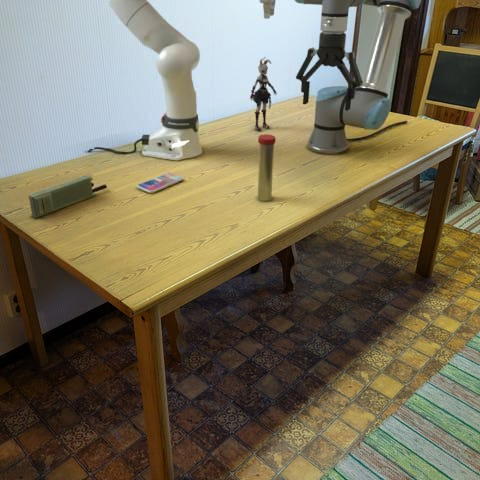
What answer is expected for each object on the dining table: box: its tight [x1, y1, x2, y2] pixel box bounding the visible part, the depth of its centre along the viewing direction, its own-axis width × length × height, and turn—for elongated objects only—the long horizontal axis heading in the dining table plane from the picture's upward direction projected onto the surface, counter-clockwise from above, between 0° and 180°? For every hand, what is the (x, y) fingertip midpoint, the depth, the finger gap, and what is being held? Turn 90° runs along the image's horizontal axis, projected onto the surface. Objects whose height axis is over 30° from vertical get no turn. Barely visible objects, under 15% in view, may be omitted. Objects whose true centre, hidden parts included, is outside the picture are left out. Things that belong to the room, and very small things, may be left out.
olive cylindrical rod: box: [257, 143, 275, 202], centre depth 151 cm, size 4×4×19 cm
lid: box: [257, 133, 276, 145], centre depth 147 cm, size 5×5×2 cm
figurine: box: [249, 56, 278, 132], centre depth 211 cm, size 15×6×30 cm, turn 132°
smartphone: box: [136, 172, 184, 194], centre depth 164 cm, size 7×1×15 cm
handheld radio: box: [28, 173, 108, 219], centre depth 150 cm, size 7×3×25 cm
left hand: (268, 16), depth 163 cm, fingers open, 8 cm apart
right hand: (326, 106), depth 155 cm, fingers open, 13 cm apart
